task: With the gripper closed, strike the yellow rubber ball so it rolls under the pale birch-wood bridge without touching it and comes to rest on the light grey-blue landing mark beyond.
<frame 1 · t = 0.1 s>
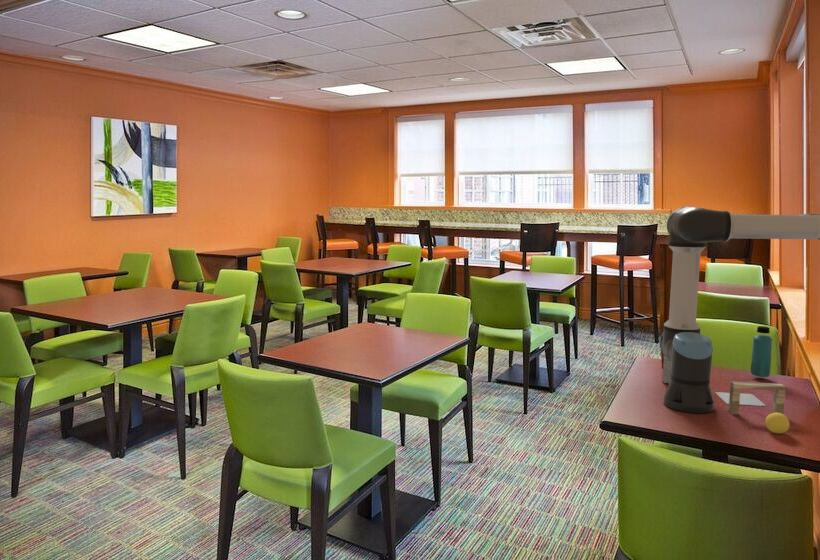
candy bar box: (673, 381, 227), on the table
landing mark: (739, 399, 206), on the table
bridge: (755, 413, 193), on the table
beverage bottle: (759, 378, 230), on the table
ball: (777, 423, 177), on the table
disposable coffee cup: (670, 369, 243), on the table
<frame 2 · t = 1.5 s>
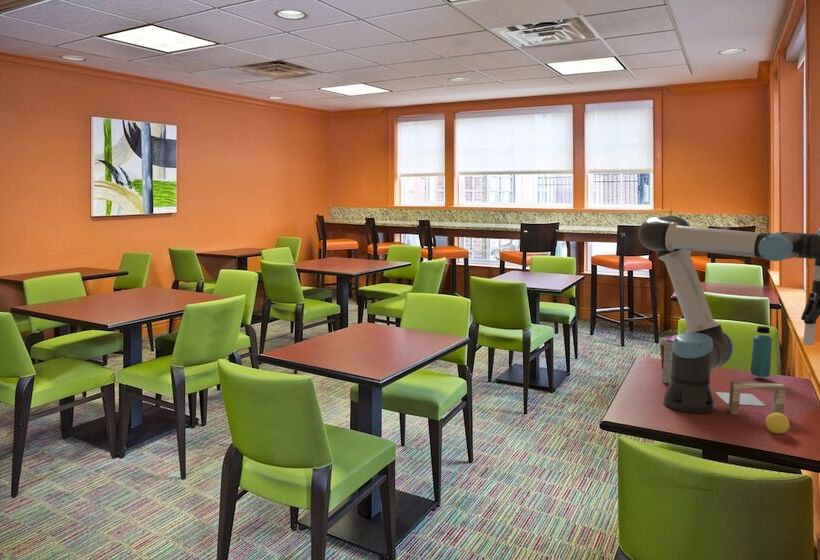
nothing on the table moved.
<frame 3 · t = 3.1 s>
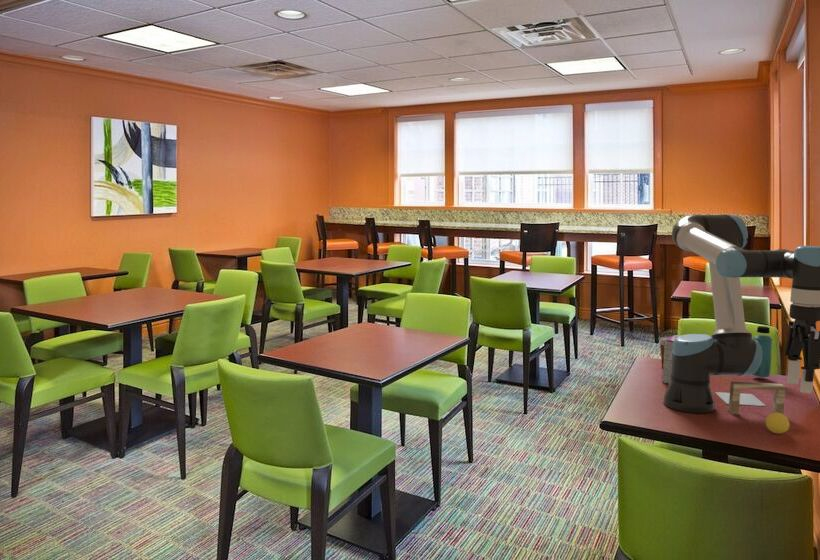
hand: (799, 387, 164), 17 cm above the table, tool pointing down, fingers open, 7 cm apart
nothing on the table moved.
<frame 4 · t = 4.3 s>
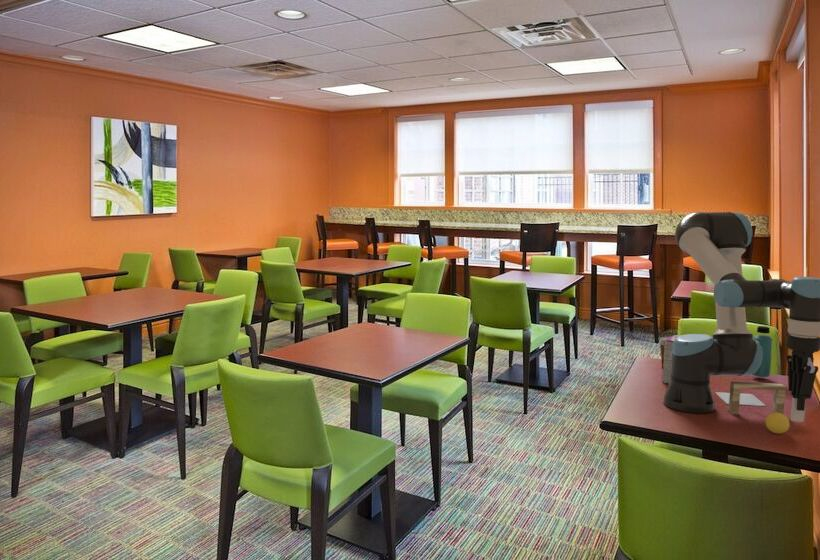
hand: (797, 420, 165), 8 cm above the table, tool pointing down, fingers closed
nothing on the table moved.
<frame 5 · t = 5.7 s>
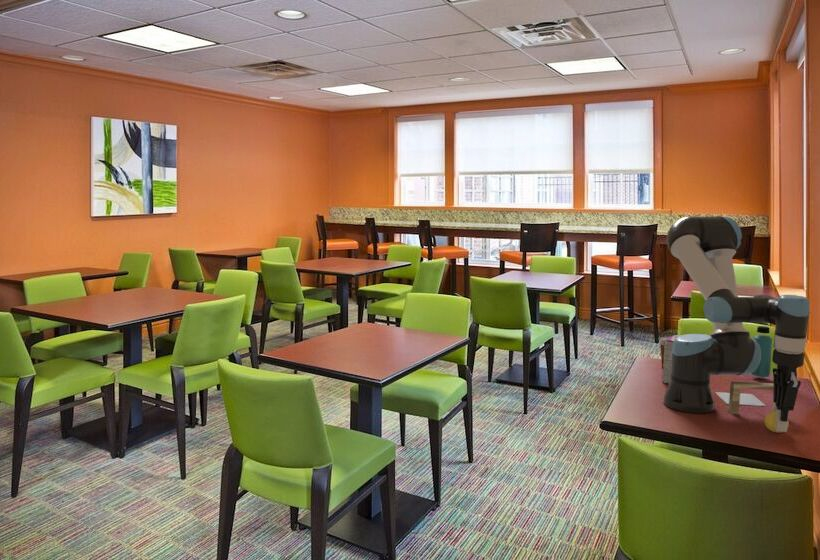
hand: (780, 430, 174), 2 cm above the table, tool pointing down, fingers closed
ball: (776, 422, 177), on the table, touching gripper
everything else where it was.
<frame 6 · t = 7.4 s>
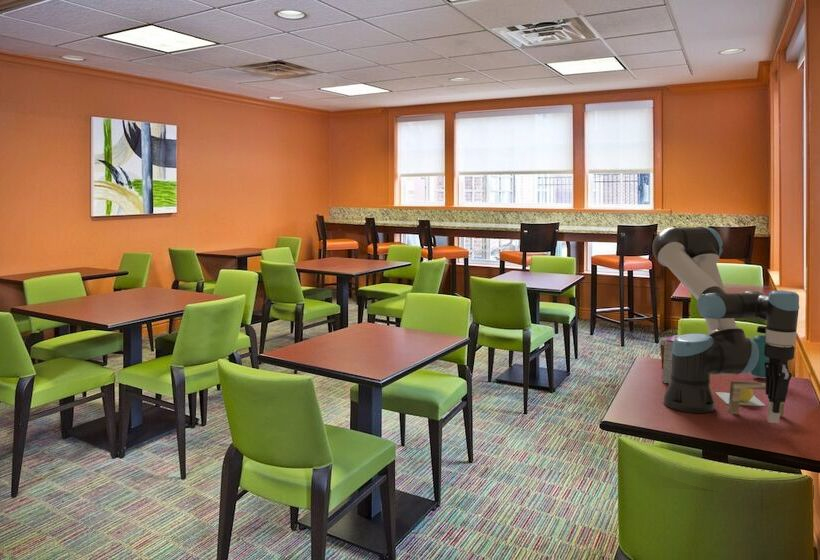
hand: (772, 421, 180), 2 cm above the table, tool pointing down, fingers closed
ball: (743, 392, 204), on the table
everything else where it was.
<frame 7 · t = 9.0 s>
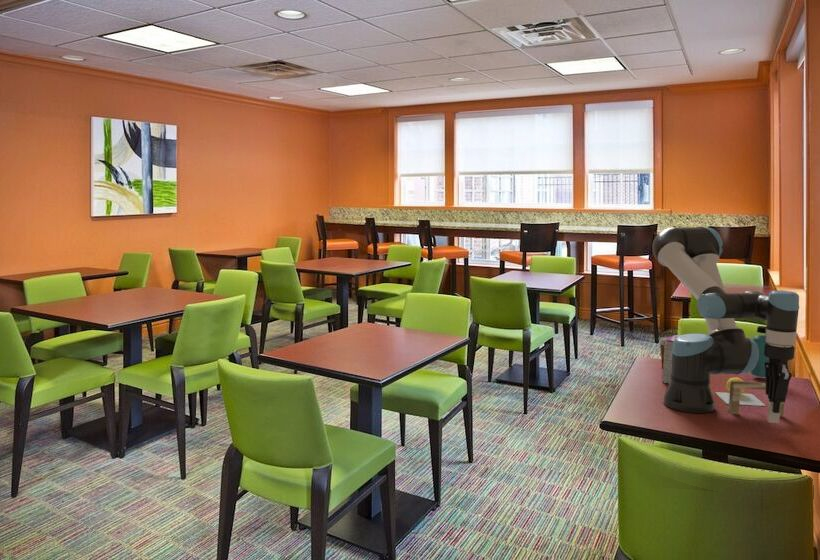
hand: (772, 421, 180), 2 cm above the table, tool pointing down, fingers closed
ball: (735, 386, 211), on the table
everything else where it was.
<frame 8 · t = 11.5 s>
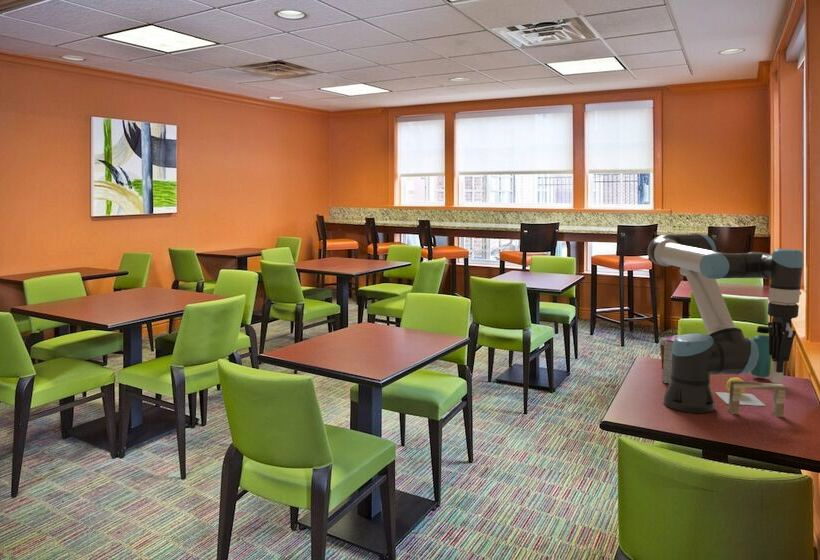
hand: (776, 382, 178), 14 cm above the table, tool pointing down, fingers closed
nothing on the table moved.
at the end: ball 5.2 cm from the landing mark (horizontally); ball never touched bridge; ball at rest at the end (0.0 cm/s) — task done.
